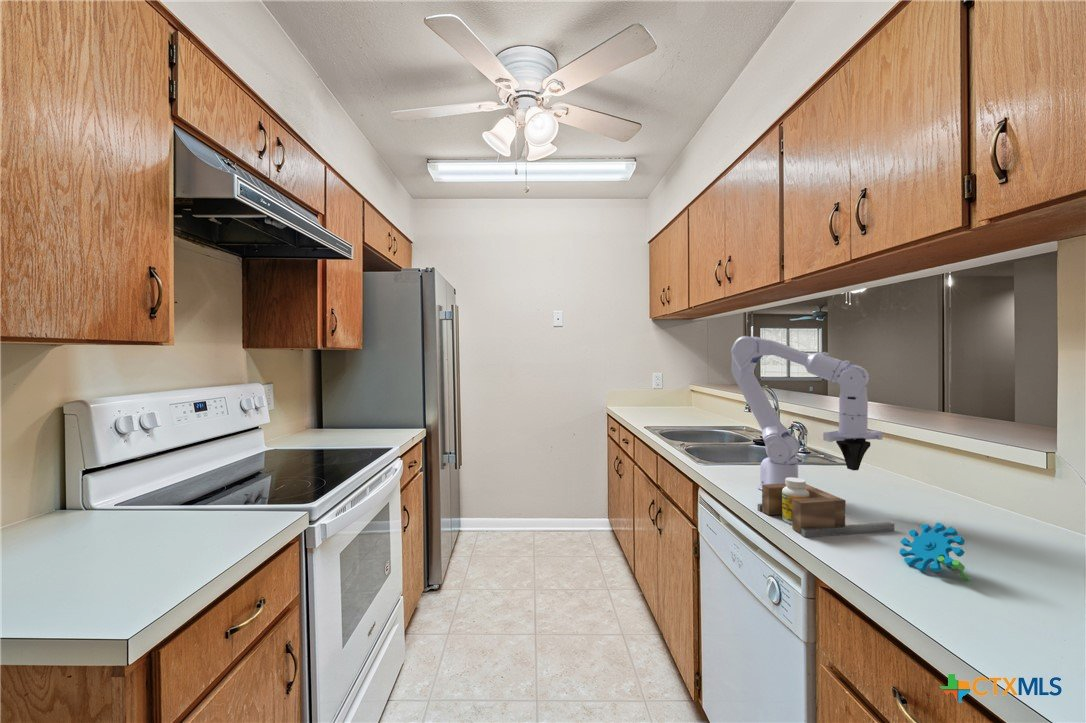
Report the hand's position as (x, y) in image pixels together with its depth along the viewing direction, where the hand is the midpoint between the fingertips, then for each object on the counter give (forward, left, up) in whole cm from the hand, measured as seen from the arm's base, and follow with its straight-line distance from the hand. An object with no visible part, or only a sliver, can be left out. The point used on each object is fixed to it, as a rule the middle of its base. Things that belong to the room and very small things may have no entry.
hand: (852, 469), depth 108 cm
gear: (+29, -11, -10) cm, 33 cm away
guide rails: (+6, -14, -9) cm, 18 cm away
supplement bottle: (+6, -20, -10) cm, 23 cm away
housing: (+6, -19, -9) cm, 22 cm away
